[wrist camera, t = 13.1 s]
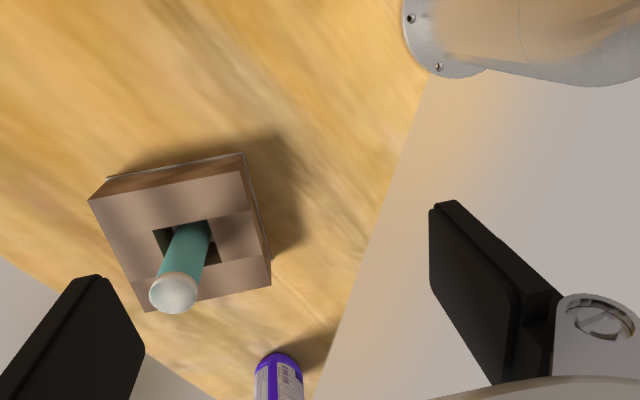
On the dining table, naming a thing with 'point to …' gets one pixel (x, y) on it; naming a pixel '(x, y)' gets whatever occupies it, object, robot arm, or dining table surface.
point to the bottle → (278, 379)
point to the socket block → (184, 207)
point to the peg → (181, 268)
